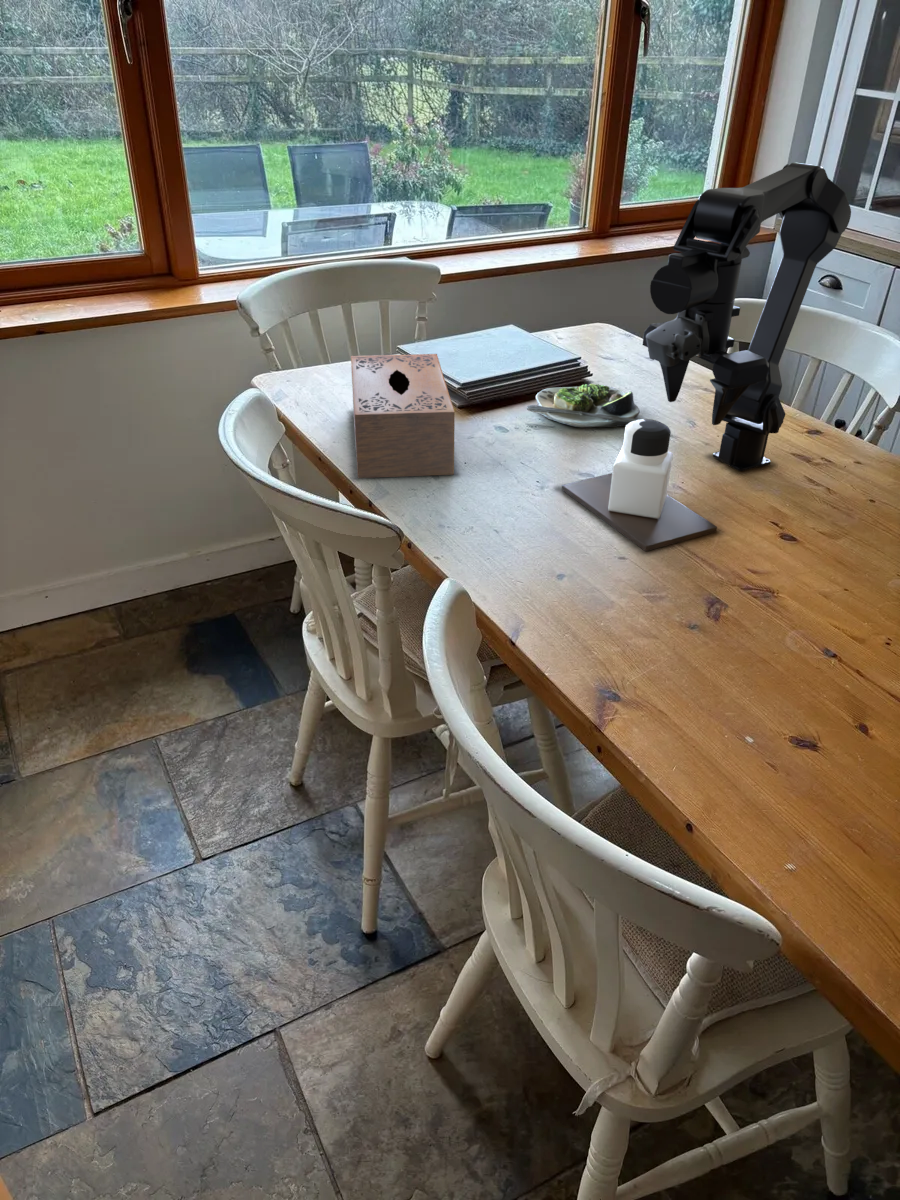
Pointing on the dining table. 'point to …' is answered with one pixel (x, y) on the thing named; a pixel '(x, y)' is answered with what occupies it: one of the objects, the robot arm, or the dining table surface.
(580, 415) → the salad plate
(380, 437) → the tissue box cover
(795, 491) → the dining table surface
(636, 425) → the medicine bottle
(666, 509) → the walnut mat
